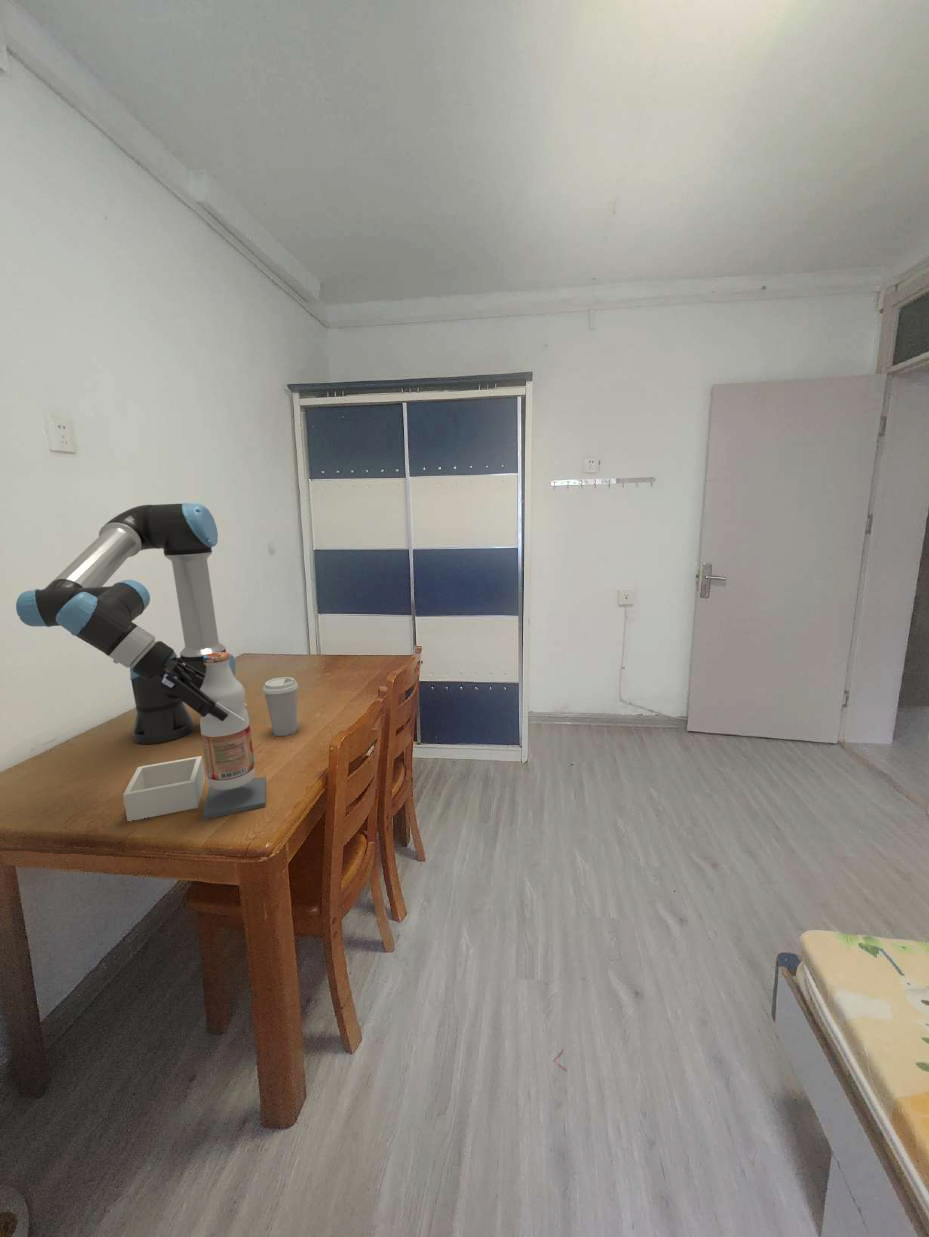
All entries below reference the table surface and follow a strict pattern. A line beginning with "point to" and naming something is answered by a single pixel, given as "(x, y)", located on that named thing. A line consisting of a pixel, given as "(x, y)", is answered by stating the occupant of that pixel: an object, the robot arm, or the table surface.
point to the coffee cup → (282, 705)
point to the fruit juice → (225, 728)
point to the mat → (235, 799)
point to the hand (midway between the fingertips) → (241, 717)
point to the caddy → (164, 788)
